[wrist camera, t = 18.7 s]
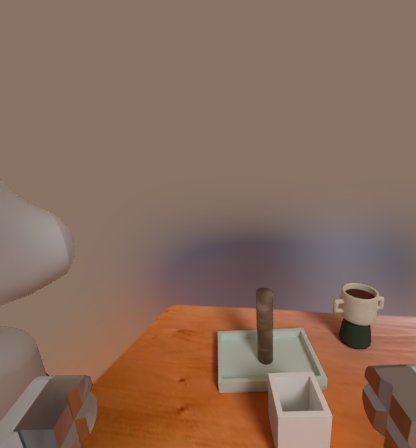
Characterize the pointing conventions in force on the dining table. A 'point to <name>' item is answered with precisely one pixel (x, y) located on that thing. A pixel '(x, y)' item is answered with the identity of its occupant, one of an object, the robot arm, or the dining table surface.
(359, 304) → the character mug
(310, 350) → the sage tray
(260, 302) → the walnut pin
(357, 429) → the dining table surface
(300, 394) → the white square sleeve
